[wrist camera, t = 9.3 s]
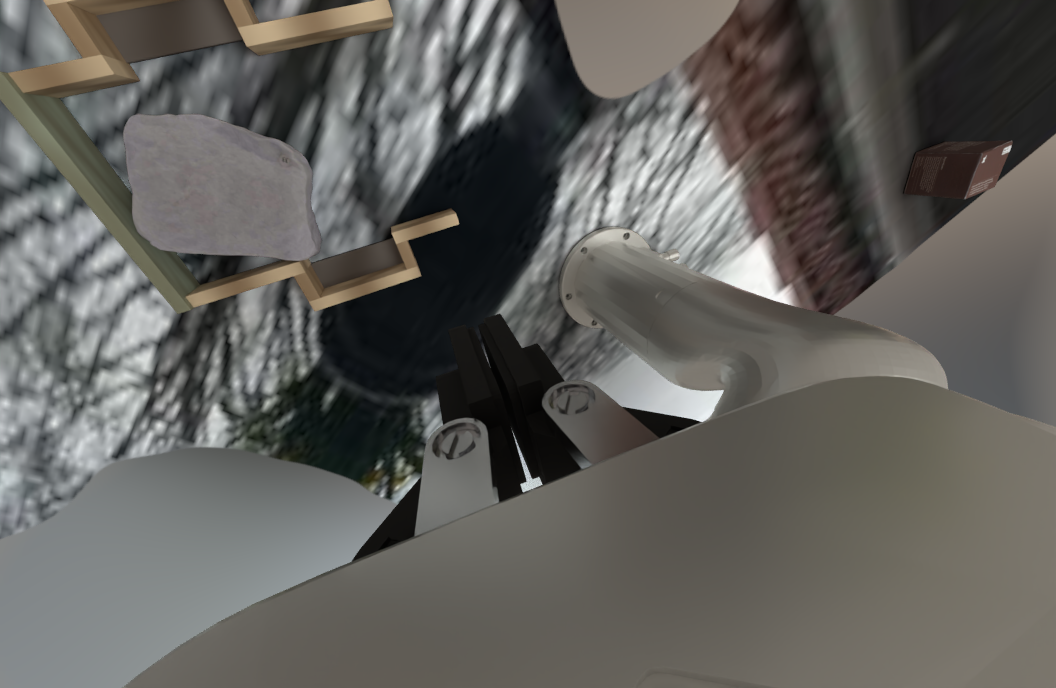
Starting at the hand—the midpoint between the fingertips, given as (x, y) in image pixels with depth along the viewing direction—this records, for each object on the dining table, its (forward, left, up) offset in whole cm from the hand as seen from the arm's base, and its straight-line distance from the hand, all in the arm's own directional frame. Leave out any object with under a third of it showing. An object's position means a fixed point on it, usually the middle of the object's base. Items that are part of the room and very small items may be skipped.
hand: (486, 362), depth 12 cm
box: (-73, +14, -29) cm, 80 cm away
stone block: (+13, -6, -29) cm, 33 cm away
